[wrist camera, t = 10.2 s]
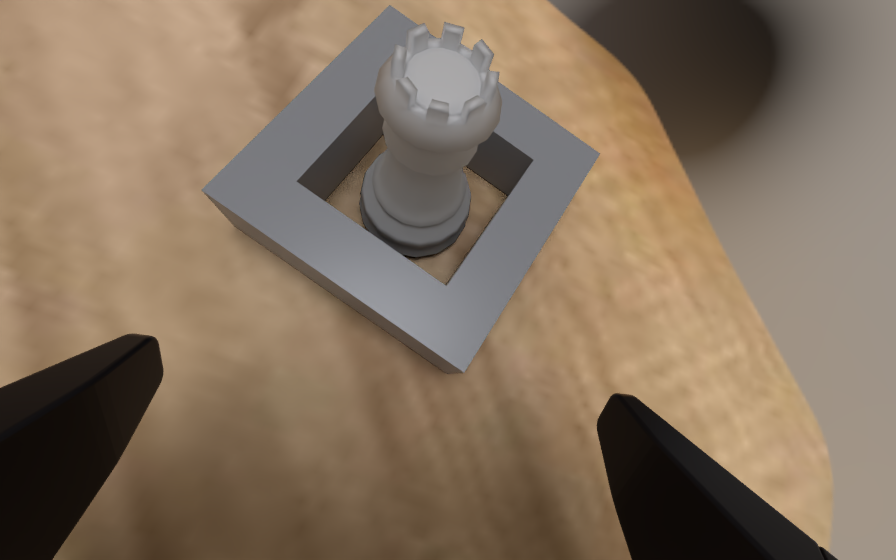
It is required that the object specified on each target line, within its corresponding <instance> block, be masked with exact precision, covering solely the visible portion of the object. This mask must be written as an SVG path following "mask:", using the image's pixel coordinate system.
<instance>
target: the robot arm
mask: <svg viewBox="0 0 896 560" xmlns="http://www.w3.org/2000/svg"><path fill="white" fill-rule="evenodd" d="M162 378H163V364H162V359H161V353H160V348H159V343H158V340H157V339H156V338H155V337H153V336H149V335H140V334H127V335H124V336H121V337H119V338H117V339H114V340H112V341H110V342H107V343H105V344H103V345H100V346H98V347H96V348H93V349H91V350H88V351H86V352H84V353H81V354H79V355H77V356H74V357H72V358H70V359H67V360H65V361H63V362H60V363H58V364H55V365H53V366H51V367H48V368H46V369H44V370H41V371H39V372H37V373H34V374H32V375H29V376H27V377H25V378H22V379H20V380H18V381H15V382H13V383H11V384H8V385H6V386H4V387H1V388H0V560H52V559H53V558H54V556H55V555H56V553H57V552H58V550H59V549H60V547H61V546H62V545H63V543H64V542H65V540H66V539H67V537H68V536H69V534H70V533H71V531H72V530H73V528H74V527H75V525H76V524H77V522H78V521H79V519H80V518H81V516H82V515H83V513H84V512H85V511H86V509H87V508H88V506H89V505H90V503H91V502H92V500H93V499H94V497H95V496H96V494H97V493H98V491H99V490H100V488H101V487H102V485H103V484H104V482H105V481H106V479H107V478H108V477H109V475H110V473H111V472H112V470H113V469H114V467H115V466H116V464H117V463H118V461H119V459H120V457H121V456H122V454H123V452H124V450H125V449H126V447H127V445H128V443H129V441H130V439H131V438H132V436H133V434H134V432H135V430H136V428H137V426H138V424H139V423H140V421H141V419H142V417H143V415H144V413H145V411H146V410H147V408H148V406H149V404H150V402H151V400H152V398H153V396H154V395H155V393H156V391H157V389H158V387H159V385H160V383H161V381H162ZM597 432H598V436H599V441H600V445H601V450H602V454H603V459H604V463H605V468H606V472H607V477H608V481H609V486H610V490H611V494H612V498H613V502H614V505H615V508H616V512H617V515H618V518H619V521H620V524H621V527H622V530H623V534H624V537H625V540H626V543H627V546H628V549H629V552H630V555H631V558H632V560H838V559H836V558H835V557H834V556H833V555H831V554H830V553H829V552H828V551H826V550H825V549H824V548H823V547H819V546H818V544H817V543H816V542H815V541H814V540H813V539H811V538H810V537H809V536H808V535H806V534H805V533H804V532H803V531H801V530H800V529H799V528H798V527H796V526H795V525H794V524H793V523H792V522H790V521H789V520H788V519H787V518H785V517H784V516H783V515H782V514H780V513H779V512H778V511H777V510H775V509H774V508H773V507H772V506H770V505H769V504H768V503H767V502H765V501H764V500H763V499H762V498H760V497H759V496H758V495H757V494H755V493H754V492H753V491H752V490H750V489H749V488H748V487H747V486H746V485H744V484H743V483H742V482H741V481H739V480H738V479H737V478H736V477H734V476H733V475H732V474H731V473H729V472H728V471H727V470H726V469H724V468H723V467H722V466H721V465H719V464H718V463H717V462H716V461H714V460H713V459H712V458H711V457H709V456H708V455H707V454H706V453H704V452H703V451H702V450H701V449H700V448H698V447H697V446H696V445H695V444H693V443H692V442H691V441H690V440H688V439H687V438H686V437H685V436H683V435H682V434H681V433H680V432H678V431H677V430H676V429H675V428H673V427H672V426H671V425H670V424H668V423H667V422H666V421H665V420H663V419H662V418H661V417H660V416H658V415H657V414H656V413H655V412H654V411H652V410H651V409H650V408H649V407H647V406H646V405H645V404H644V403H642V402H641V401H640V400H639V399H637V398H636V397H635V396H633V395H628V394H620V393H615V394H613V395H612V396H611V397H610V398H609V400H608V402H607V404H606V405H605V407H604V409H603V411H602V412H601V414H600V416H599V418H598V421H597Z"/></svg>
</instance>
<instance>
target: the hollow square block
mask: <svg viewBox="0 0 896 560" xmlns="http://www.w3.org/2000/svg"><path fill="white" fill-rule="evenodd" d="M416 26H418V25H417V24H416V23H414V22H413V21H412V20H410V19H409V18H407V17H406V16H405V15H403V14H402V13H400V12H399V11H397V10H396V9H395V8H393V7H392V6H390V5H389V6H388V7H387V8H386V9H385V10H384V11H383V12H382V13H381V14H380V15H379V16H378V17H377V18H376V19H375V20H374V21H373V22H372V23H371V24H370V25H369V26H368V27H367V28H366V29H365V30H364V31H363V32H362V33H361V34H360V35H359V36H358V37H357V38H356V39H355V40H354V41H353V42H352V43H351V44H349V45H348V46H347V47H346V48H345V49H344V50H343V51H342V52H341V53H340V54H339V55H338V56H337V57H336V58H335V59H334V60H333V61H332V62H331V63H330V64H329V65H328V66H327V67H326V68H325V69H324V70H323V71H322V72H321V73H320V74H319V75H318V76H317V77H316V78H315V79H314V80H313V81H312V82H311V83H310V84H309V85H308V86H307V87H306V88H305V89H304V90H303V91H302V92H301V93H300V94H299V95H298V96H297V97H296V98H294V99H293V100H292V101H291V102H290V103H289V104H288V105H287V106H286V107H285V108H284V109H283V110H282V111H281V112H280V113H279V114H278V115H277V116H276V117H275V118H274V119H273V120H272V121H271V122H270V123H269V124H268V125H267V126H266V127H265V128H264V129H263V130H262V131H261V132H260V133H259V134H258V135H257V136H256V137H255V138H254V139H253V140H252V141H251V142H250V143H249V144H248V145H247V146H246V147H245V148H244V149H243V150H242V151H240V152H239V153H238V154H237V155H236V156H235V157H234V158H233V159H232V160H231V161H230V162H229V163H228V164H227V165H226V166H225V167H224V168H223V169H222V170H221V171H220V172H219V173H218V174H217V175H216V176H215V177H214V178H213V179H212V180H211V181H210V182H209V183H208V184H207V185H206V186H205V187H204V188H203V189H202V191H203V192H204V194H205V195H206V196H207V197H208V198H209V199H210V200H211V201H212V202H213V203H214V204H215V206H216V207H217V208H218V209H219V210H220V211H221V212H222V213H223V214H224V215H225V217H226V218H227V219H228V220H229V221H230V222H231V223H232V224H233V225H234V226H235V227H237V228H238V229H239V230H241V231H242V232H244V233H245V234H247V235H248V236H250V237H251V238H252V239H254V240H255V241H257V242H258V243H260V244H261V245H262V246H264V247H265V248H267V249H268V250H270V251H271V252H273V253H274V254H275V255H277V256H278V257H280V258H281V259H283V260H284V261H286V262H287V263H288V264H290V265H291V266H293V267H294V268H296V269H297V270H298V271H300V272H301V273H303V274H304V275H306V276H307V277H309V278H310V279H311V280H313V281H314V282H316V283H317V284H319V285H320V286H321V287H323V288H324V289H326V290H327V291H329V292H330V293H332V294H333V295H334V296H336V297H337V298H339V299H340V300H342V301H343V302H345V303H346V304H347V305H349V306H350V307H352V308H353V309H355V310H356V311H357V312H359V313H360V314H362V315H363V316H365V317H366V318H368V319H369V320H370V321H372V322H373V323H375V324H376V325H378V326H379V327H381V328H382V329H383V330H385V331H386V332H388V333H389V334H391V335H392V336H393V337H395V338H396V339H398V340H399V341H401V342H402V343H404V344H405V345H406V346H408V347H409V348H411V349H412V350H414V351H415V352H416V353H418V354H419V355H421V356H422V357H424V358H425V359H427V360H428V361H429V362H431V363H432V364H434V365H435V366H437V367H438V368H440V369H441V370H442V371H444V372H445V373H447V374H451V373H464V372H465V370H466V369H467V367H468V366H469V364H470V362H471V361H472V359H473V357H474V356H475V354H476V353H477V351H478V349H479V348H480V346H481V345H482V343H483V341H484V340H485V338H486V337H487V335H488V333H489V332H490V330H491V329H492V327H493V325H494V324H495V322H496V321H497V319H498V317H499V316H500V314H501V312H502V311H503V309H504V308H505V306H506V304H507V303H508V301H509V300H510V298H511V296H512V295H513V293H514V292H515V290H516V288H517V287H518V285H519V284H520V282H521V280H522V279H523V277H524V275H525V274H526V272H527V271H528V269H529V267H530V266H531V264H532V263H533V261H534V259H535V258H536V256H537V255H538V253H539V251H540V250H541V248H542V247H543V245H544V243H545V242H546V240H547V238H548V237H549V235H550V234H551V232H552V230H553V229H554V227H555V226H556V224H557V222H558V221H559V219H560V218H561V216H562V214H563V213H564V211H565V210H566V208H567V206H568V205H569V203H570V201H571V200H572V198H573V197H574V195H575V193H576V192H577V190H578V189H579V187H580V185H581V184H582V182H583V181H584V179H585V177H586V176H587V174H588V173H589V171H590V169H591V168H592V166H593V164H594V163H595V161H596V160H597V158H598V156H599V155H600V153H598V152H597V151H596V150H594V149H593V148H591V147H590V146H588V145H587V144H586V143H584V142H583V141H581V140H580V139H579V138H577V137H576V136H574V135H573V134H571V133H570V132H569V131H567V130H566V129H564V128H563V127H562V126H560V125H559V124H557V123H556V122H555V121H553V120H552V119H550V118H549V117H547V116H546V115H545V114H543V113H542V112H540V111H539V110H538V109H536V108H535V107H533V106H532V105H530V104H529V103H528V102H526V101H525V100H523V99H522V98H521V97H519V96H518V95H516V94H515V93H513V92H512V91H511V90H509V89H508V88H506V87H505V86H504V85H502V84H501V83H499V82H498V89H499V92H500V95H501V98H502V107H501V115H500V122H499V123H498V125H497V126H496V128H495V129H494V131H493V132H492V134H491V135H490V137H489V138H488V139H487V140H486V141H484V142H482V143H480V144H479V145H478V147H477V151H476V153H475V154H474V156H473V157H472V159H471V160H470V162H469V163H468V165H466V166H467V167H468V168H470V169H471V170H473V171H474V172H475V173H477V174H478V175H480V176H481V177H482V178H484V179H485V180H487V181H488V182H490V183H491V184H492V185H494V186H495V187H497V188H498V189H500V190H501V191H502V192H504V193H505V194H507V195H508V196H507V197H506V199H505V200H504V201H503V203H502V204H501V206H500V207H499V209H498V210H497V212H496V213H495V214H494V216H493V217H492V219H491V220H490V222H489V223H488V225H487V226H486V227H485V229H484V230H483V232H482V233H481V235H480V236H479V238H478V239H477V241H476V242H475V243H474V245H473V246H472V248H471V249H470V251H469V252H468V254H467V255H466V256H465V258H464V259H463V261H462V262H461V264H460V265H459V267H458V268H457V269H456V271H455V272H454V274H453V275H452V277H451V278H450V280H449V281H448V282H447V284H446V285H444V284H443V283H441V282H440V281H438V280H437V279H436V278H434V277H433V276H431V275H430V274H428V273H427V272H426V271H424V270H423V269H421V268H420V267H418V266H417V265H415V264H414V263H413V262H411V261H410V260H408V259H407V258H405V257H404V256H403V255H401V254H400V253H398V252H397V251H395V250H394V249H393V248H391V247H390V246H388V245H387V244H385V243H384V242H383V241H381V240H380V239H378V238H377V237H375V236H374V235H373V234H371V233H370V232H368V231H367V230H365V229H364V228H362V227H361V226H360V225H358V224H357V223H355V222H354V221H352V220H351V219H350V218H348V217H347V216H345V215H344V214H342V213H341V212H340V211H338V210H337V209H335V208H334V207H332V206H331V205H330V204H328V203H327V202H325V200H326V199H327V198H328V196H329V195H330V194H331V193H332V192H333V191H334V190H335V188H336V187H337V186H338V185H339V184H340V183H341V182H342V181H343V179H344V178H345V177H346V176H347V175H348V174H349V173H350V171H351V170H352V169H353V168H354V167H355V166H356V165H357V163H358V162H359V161H360V160H361V159H362V158H363V157H364V155H365V154H366V153H367V152H368V151H369V150H370V149H371V148H372V146H373V145H374V144H375V143H376V142H377V141H378V140H379V138H380V137H381V136H382V135H383V134H384V133H383V129H382V127H383V123H384V118H383V117H382V116H381V114H380V113H379V109H378V105H377V101H376V96H375V92H374V88H375V84H376V80H377V76H378V72H379V69H380V67H381V66H382V65H383V64H384V63H385V62H386V61H387V59H388V58H389V57H390V56H391V55H392V54H393V52H394V47H395V44H397V45H399V46H402V47H405V46H406V37H407V30H409V29H411V28H414V27H416ZM430 38H436V37H434V36H433V35H431V34H430V33H429V38H428V39H430Z"/></svg>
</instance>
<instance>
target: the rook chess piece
mask: <svg viewBox="0 0 896 560" xmlns="http://www.w3.org/2000/svg"><path fill="white" fill-rule="evenodd" d="M463 32H464V27H461V26H457V25H454V24H450V23H446V22H444V27H443V32H442V37H441V38H430V39H428V38H429V31H428V29H427V27H426V25H425V23H423V24H420V25H418V26H416V27H414V28H411V29H409V30H407V37H406V46H405V47H402V46H399V45H397V44H395V47H394V52H393V54H392V55H391V56H390V57H389V58H388V59H387V61H386V62H385V63H384V64H383V65H382V66H381V67H380V69H379V72H378V76H377V80H376V84H375V88H374V92H375V96H376V101H377V105H378V109H379V113H380V114H381V116H382V117H383V118H384V123H383V127H382V129H383V133H384V138H385V142H386V146H387V147H388V148H387V150H386V151H385V152H383V153H382V154H380V155H379V156H378V157H377V158H376V160H375V161H374V162H373V163H372V165H371V166H370V167H369V168H368V170H367V171H366V173H365V175H364V180H363V184H362V188H361V193H360V195H361V198H360V202H359V205H360V209H361V214H362V219H363V224H364V225H365V226H366V228H367V229H368V231H369V232H370V233H371V234H373V235H374V236H375V237H377V238H378V239H380V240H381V241H383V242H384V243H385V244H387V245H388V246H390V247H391V248H393V249H394V250H395V251H397V252H398V253H400V254H403V255H408V256H413V257H420V256H426V255H431V254H437V253H439V252H440V251H442V250H443V249H445V248H446V247H448V246H450V245H451V244H453V243H454V242H455V241H456V239H457V238H458V236H459V235H460V233H461V231H462V230H463V228H464V227H465V223H466V220H467V218H468V215H469V208H470V202H471V193H470V189H469V185H468V182H467V178H466V175H465V173H464V172H463V167H464V166H466V165H468V163H469V162H470V160H471V159H472V157H473V156H474V154H475V153H476V151H477V147H478V145H479V144H480V143H482V142H484V141H486V140H487V139H488V138H489V137H490V135H491V134H492V132H493V131H494V129H495V128H496V126H497V125H498V123H499V122H500V115H501V107H502V98H501V95H500V92H499V89H498V79H499V72H495V71H490V70H489V67H490V64H491V62H492V59H493V56H494V54H493V52H492V51H491V50H490V49H489V47H488V46H487V45H486V44H485V42H484V41H483V40H482V39H481V40H480V41H479V42H477V43H476V44H475V45H474V47H473V50H470V49H469V48H467V47H466V46H464V45H462V44H461V40H462V36H463Z"/></svg>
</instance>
